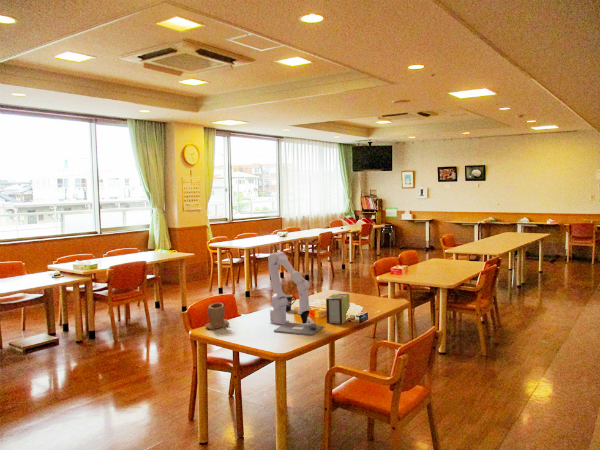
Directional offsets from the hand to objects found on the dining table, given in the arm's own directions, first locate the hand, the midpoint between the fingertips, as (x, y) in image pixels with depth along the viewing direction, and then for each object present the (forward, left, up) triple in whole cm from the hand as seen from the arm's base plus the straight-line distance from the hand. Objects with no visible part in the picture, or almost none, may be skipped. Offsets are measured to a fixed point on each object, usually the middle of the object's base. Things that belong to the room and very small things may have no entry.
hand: (304, 323), depth 303 cm
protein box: (+15, +19, -2) cm, 24 cm away
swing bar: (+5, -2, -1) cm, 5 cm away
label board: (-1, -7, -2) cm, 7 cm away
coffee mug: (-26, +34, -2) cm, 43 cm away
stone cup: (-50, -17, -2) cm, 53 cm away
